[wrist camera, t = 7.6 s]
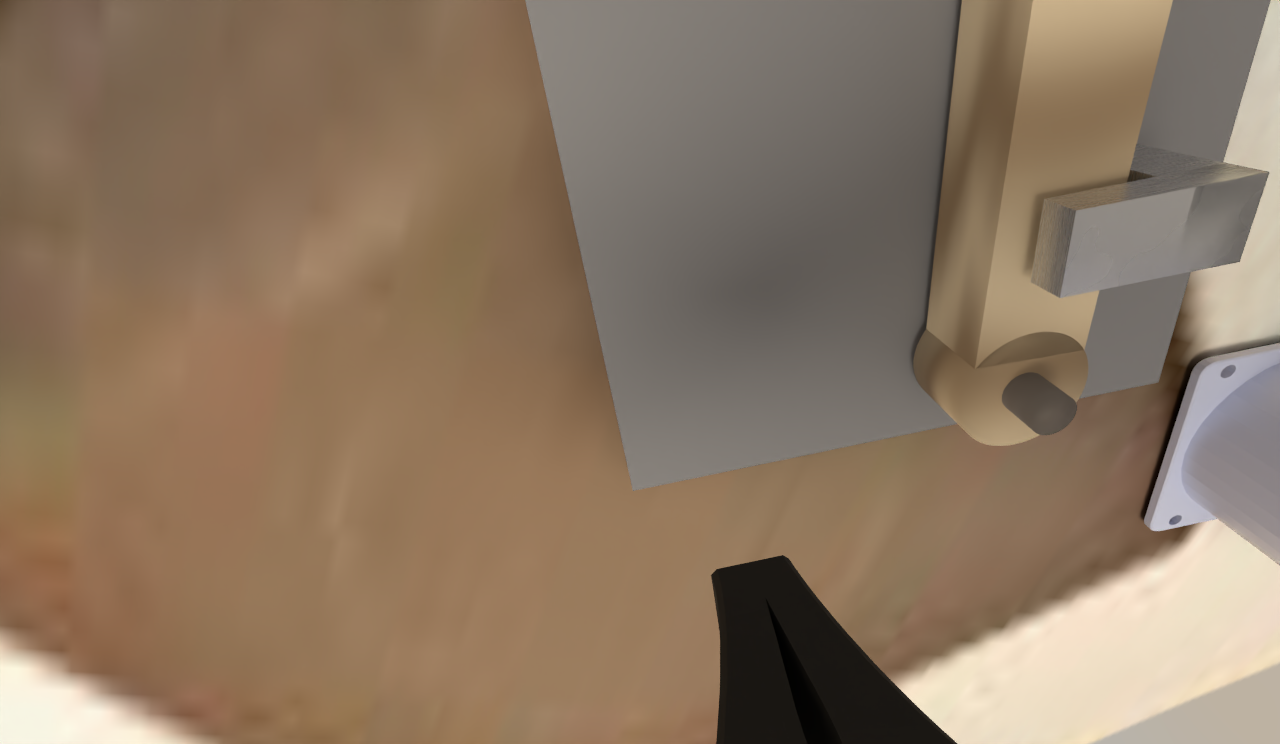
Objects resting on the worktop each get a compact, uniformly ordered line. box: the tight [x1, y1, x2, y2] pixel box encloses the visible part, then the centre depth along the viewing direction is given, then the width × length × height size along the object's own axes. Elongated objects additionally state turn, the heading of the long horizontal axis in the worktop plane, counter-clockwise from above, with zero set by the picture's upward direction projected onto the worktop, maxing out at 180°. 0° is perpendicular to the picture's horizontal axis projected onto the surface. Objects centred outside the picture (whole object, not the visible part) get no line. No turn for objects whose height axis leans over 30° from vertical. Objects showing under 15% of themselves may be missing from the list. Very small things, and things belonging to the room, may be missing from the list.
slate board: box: [525, 0, 1270, 491], centre depth 17 cm, size 18×18×1 cm
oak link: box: [913, 0, 1173, 446], centre depth 15 cm, size 14×4×4 cm, turn 8°
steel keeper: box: [1031, 144, 1269, 298], centre depth 15 cm, size 4×2×4 cm, turn 99°
